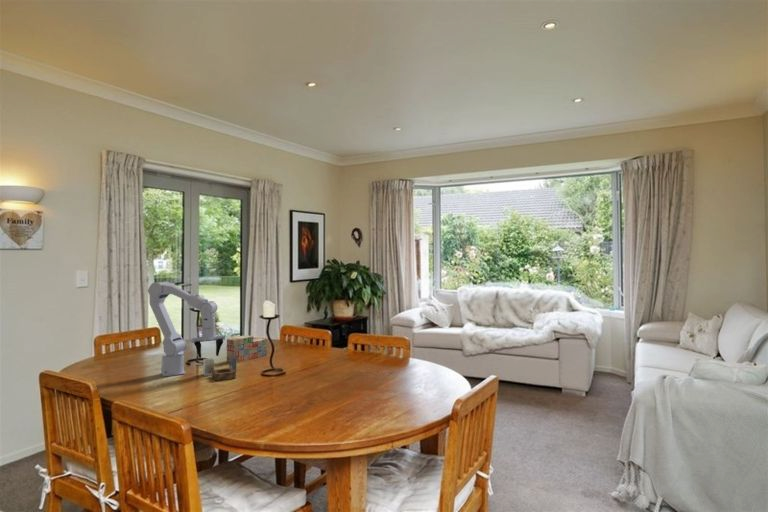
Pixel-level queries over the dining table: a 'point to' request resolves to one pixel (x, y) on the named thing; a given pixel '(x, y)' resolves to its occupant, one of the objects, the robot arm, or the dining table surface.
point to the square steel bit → (208, 366)
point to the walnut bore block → (223, 374)
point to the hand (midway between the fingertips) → (208, 356)
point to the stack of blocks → (246, 348)
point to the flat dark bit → (232, 362)
